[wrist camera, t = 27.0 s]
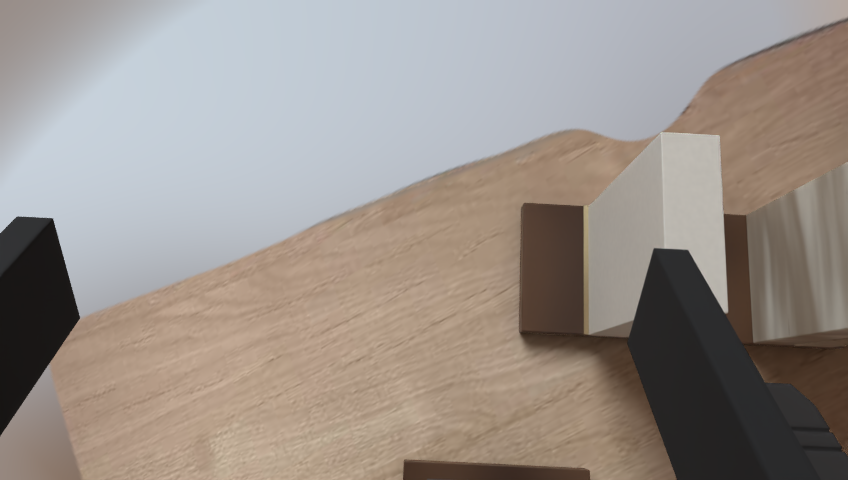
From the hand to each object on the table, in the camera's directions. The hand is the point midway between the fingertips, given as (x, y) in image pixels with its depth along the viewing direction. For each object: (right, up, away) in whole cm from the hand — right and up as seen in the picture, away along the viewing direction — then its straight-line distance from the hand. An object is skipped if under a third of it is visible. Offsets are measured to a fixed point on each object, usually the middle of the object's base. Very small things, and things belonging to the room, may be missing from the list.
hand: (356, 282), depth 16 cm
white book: (+14, -1, +32) cm, 35 cm away
